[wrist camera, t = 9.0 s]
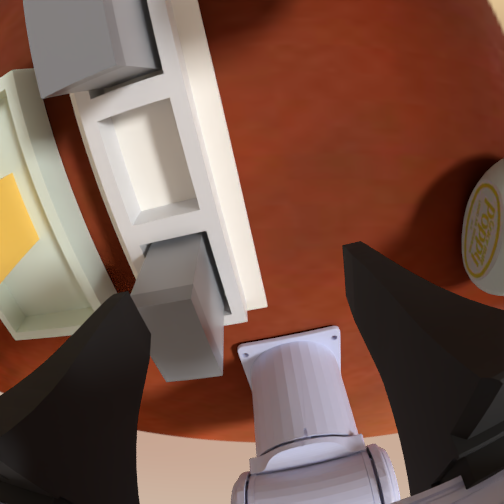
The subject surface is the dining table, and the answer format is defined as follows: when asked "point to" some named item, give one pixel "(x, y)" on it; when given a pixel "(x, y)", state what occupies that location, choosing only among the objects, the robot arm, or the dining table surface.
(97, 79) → the block
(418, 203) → the dining table surface
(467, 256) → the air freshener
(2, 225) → the block
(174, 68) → the fuse holder
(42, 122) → the tray
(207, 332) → the block
